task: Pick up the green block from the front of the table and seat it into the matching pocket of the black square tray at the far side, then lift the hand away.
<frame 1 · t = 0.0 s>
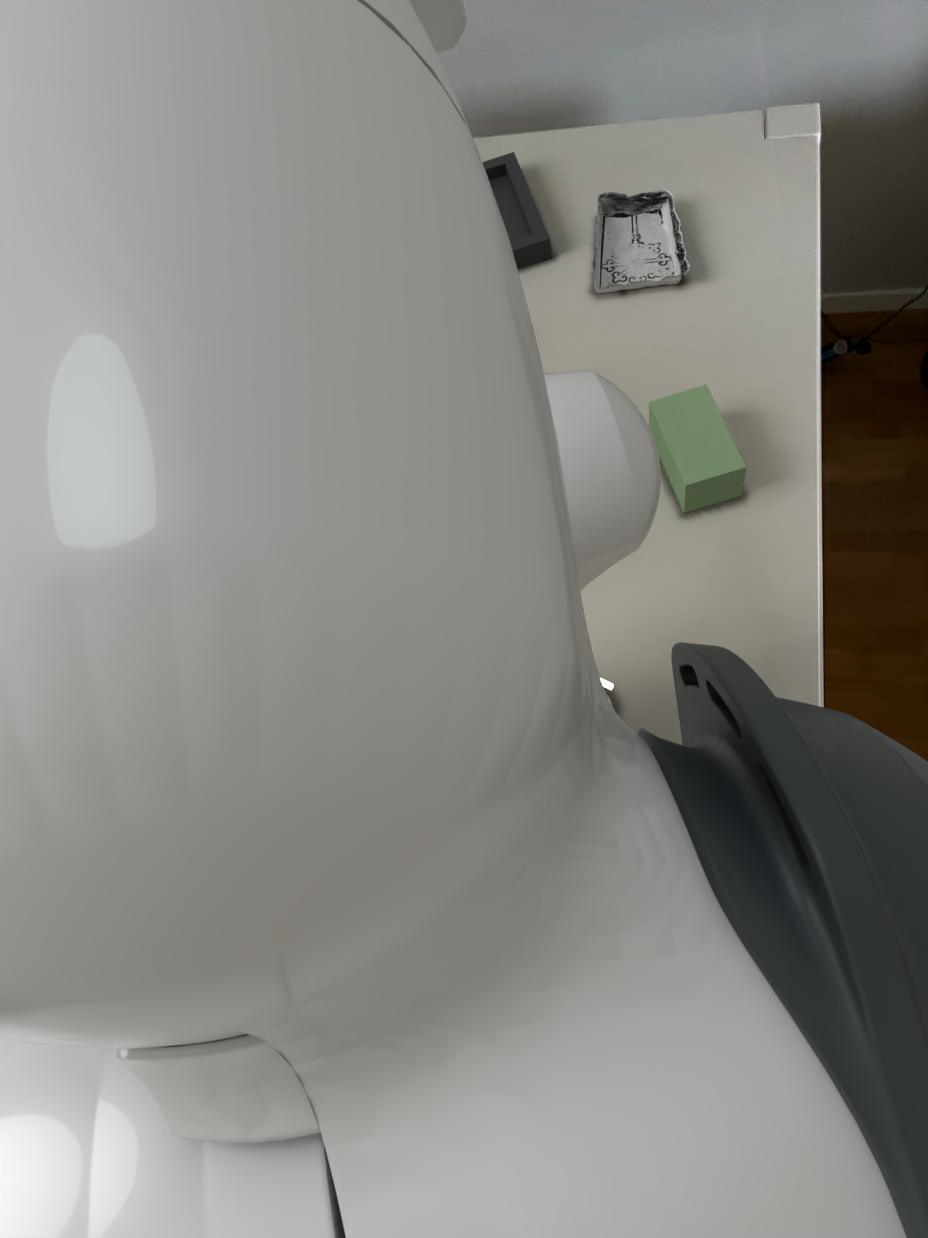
hand: (312, 157, 51), 39 cm above the table, tool pointing down, fingers open, 8 cm apart
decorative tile: (638, 252, 96), on the table
black square tray: (484, 229, 102), on the table
light bulb: (413, 393, 93), on the table
green block: (693, 463, 83), on the table
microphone: (366, 527, 87), on the table
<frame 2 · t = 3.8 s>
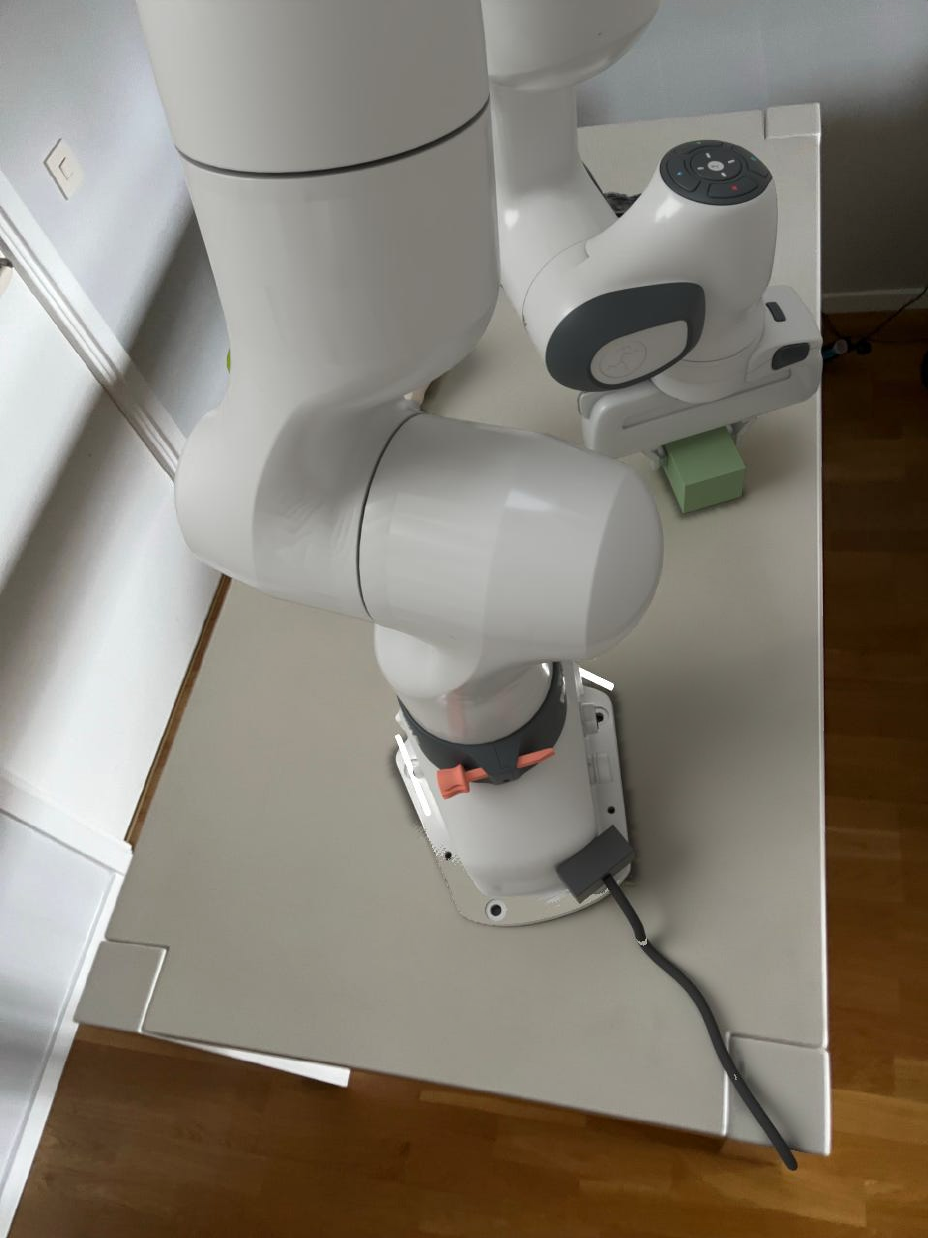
hand: (694, 451, 81), 2 cm above the table, tool pointing down, fingers closed on green block, 5 cm apart
green block: (693, 463, 83), on the table, touching gripper
everything else where it was.
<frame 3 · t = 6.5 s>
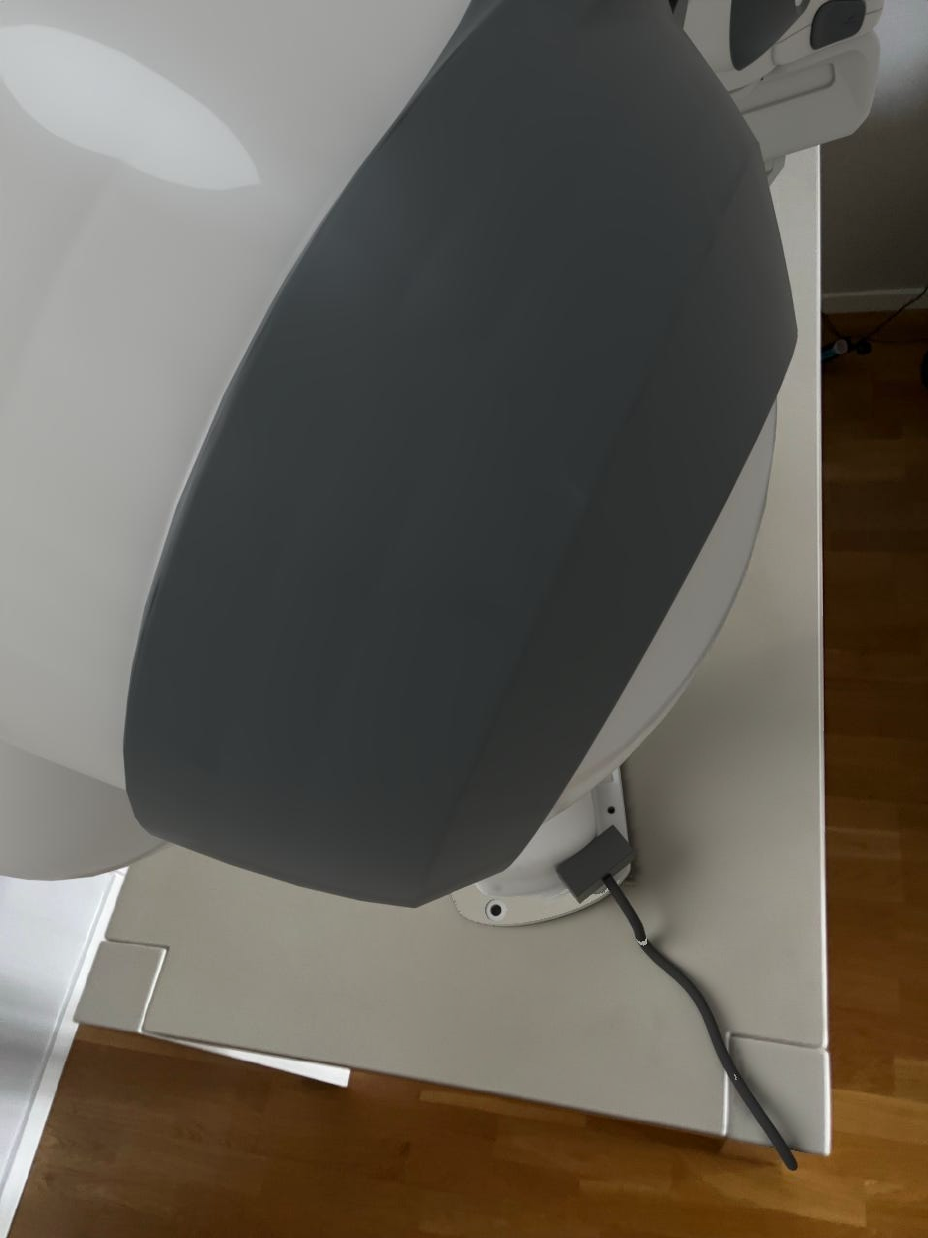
hand: (698, 225, 61), 26 cm above the table, tool pointing down, fingers closed on green block, 5 cm apart
green block: (697, 245, 62), point 24 cm above the table, touching gripper
everything else where it was.
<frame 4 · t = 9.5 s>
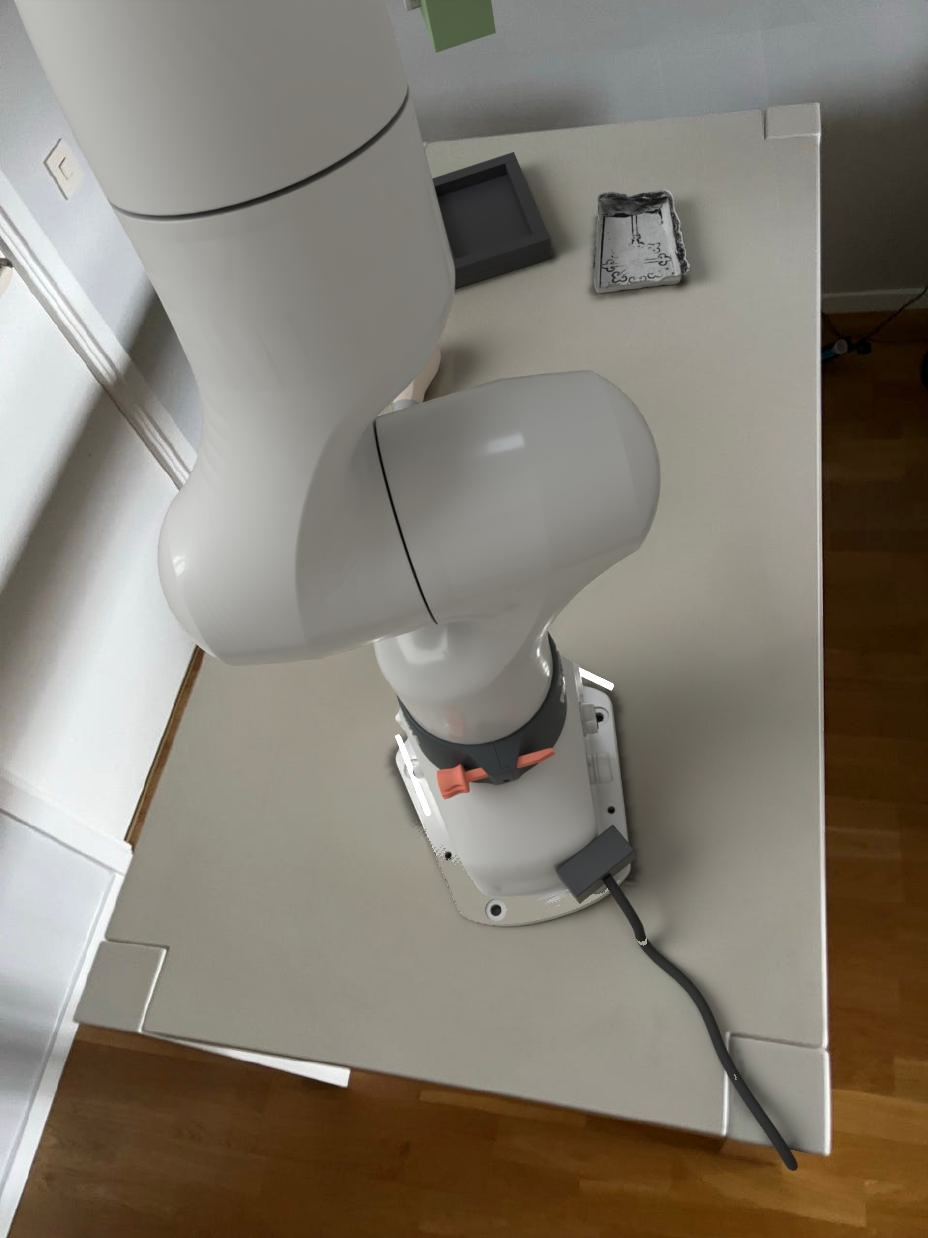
green block: (453, 12, 79), point 25 cm above the table, touching gripper
everything else where it was.
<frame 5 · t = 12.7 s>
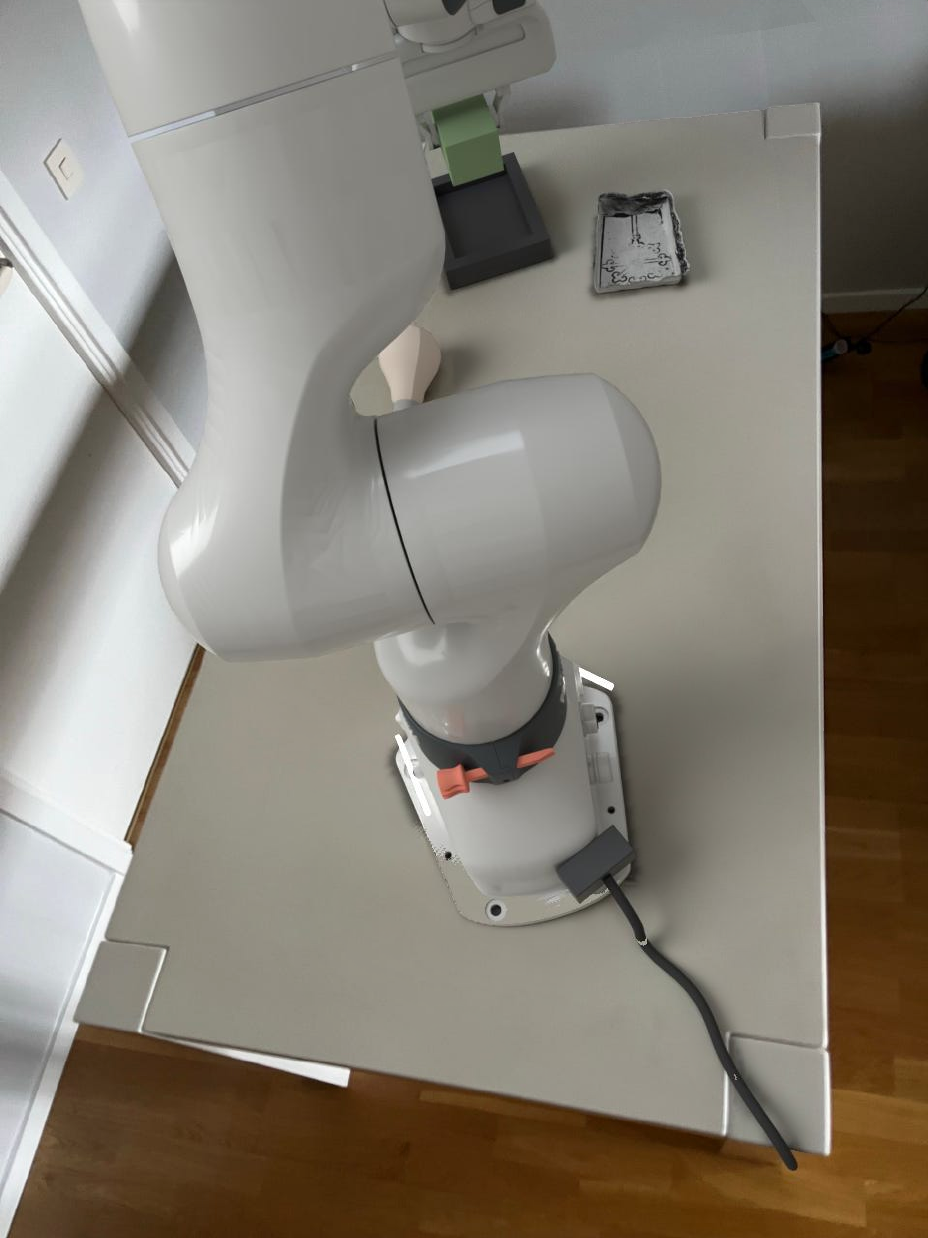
hand: (465, 135, 92), 12 cm above the table, tool pointing down, fingers closed on green block, 5 cm apart
green block: (468, 149, 93), point 10 cm above the table, touching gripper
everything else where it was.
when the fingers open (3 cm above the table, at t = 15.6 s): green block stays where it is, resting on black square tray.
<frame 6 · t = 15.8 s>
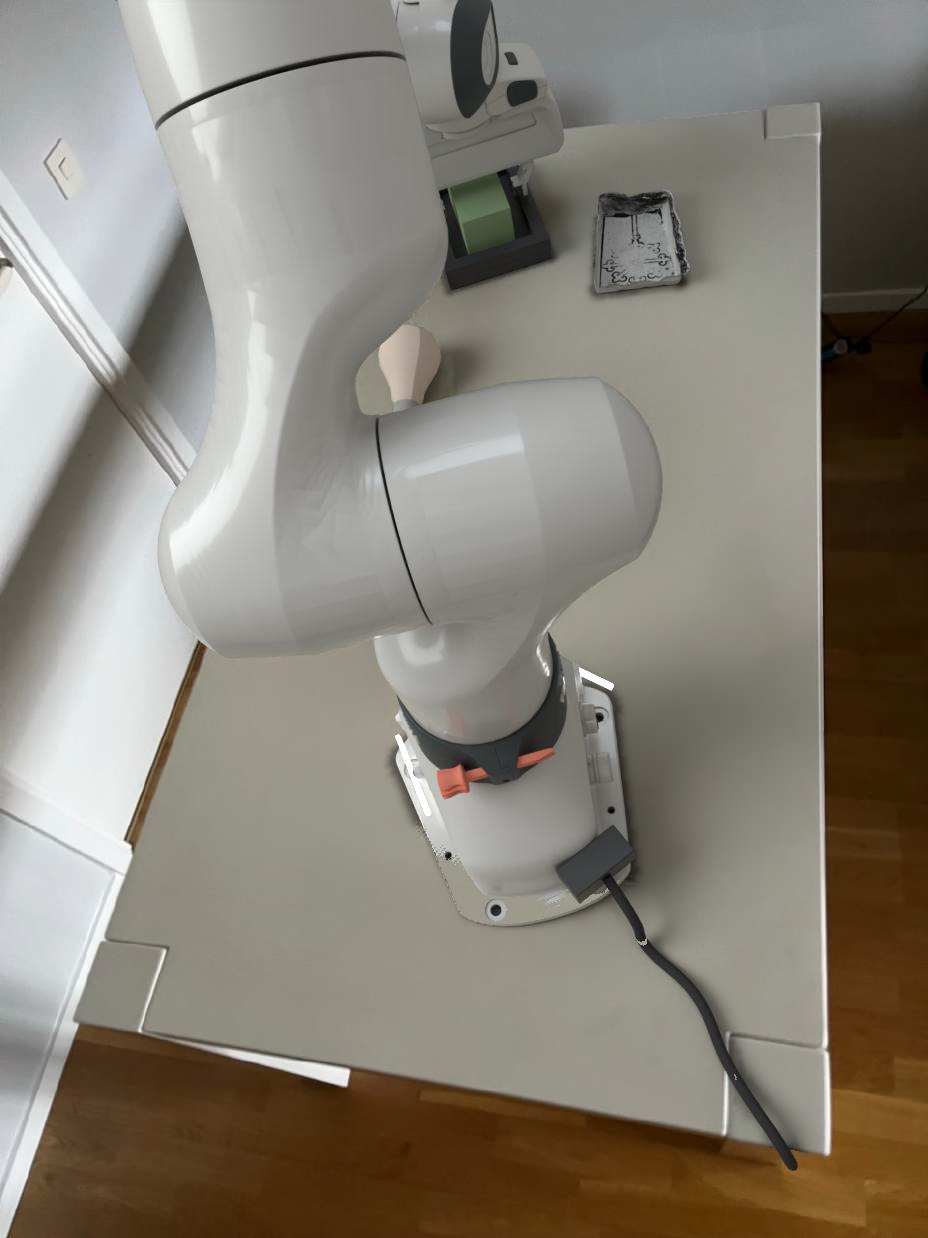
hand: (480, 206, 100), 3 cm above the table, tool pointing down, fingers open, 8 cm apart
green block: (482, 220, 101), point 1 cm above the table, touching black square tray
everything else where it was.
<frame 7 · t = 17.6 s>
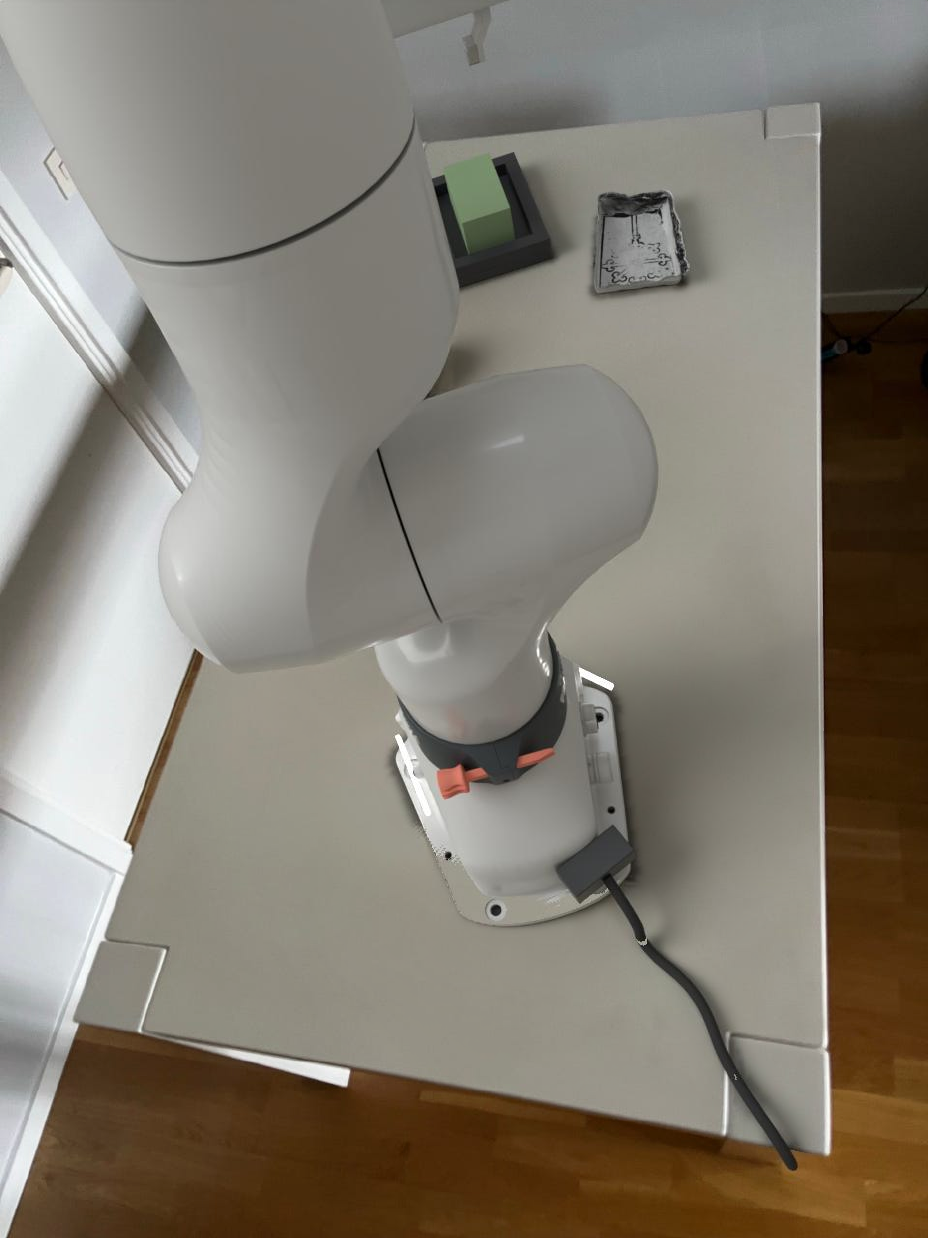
hand: (425, 77, 79), 23 cm above the table, tool pointing down, fingers open, 8 cm apart
nothing on the table moved.
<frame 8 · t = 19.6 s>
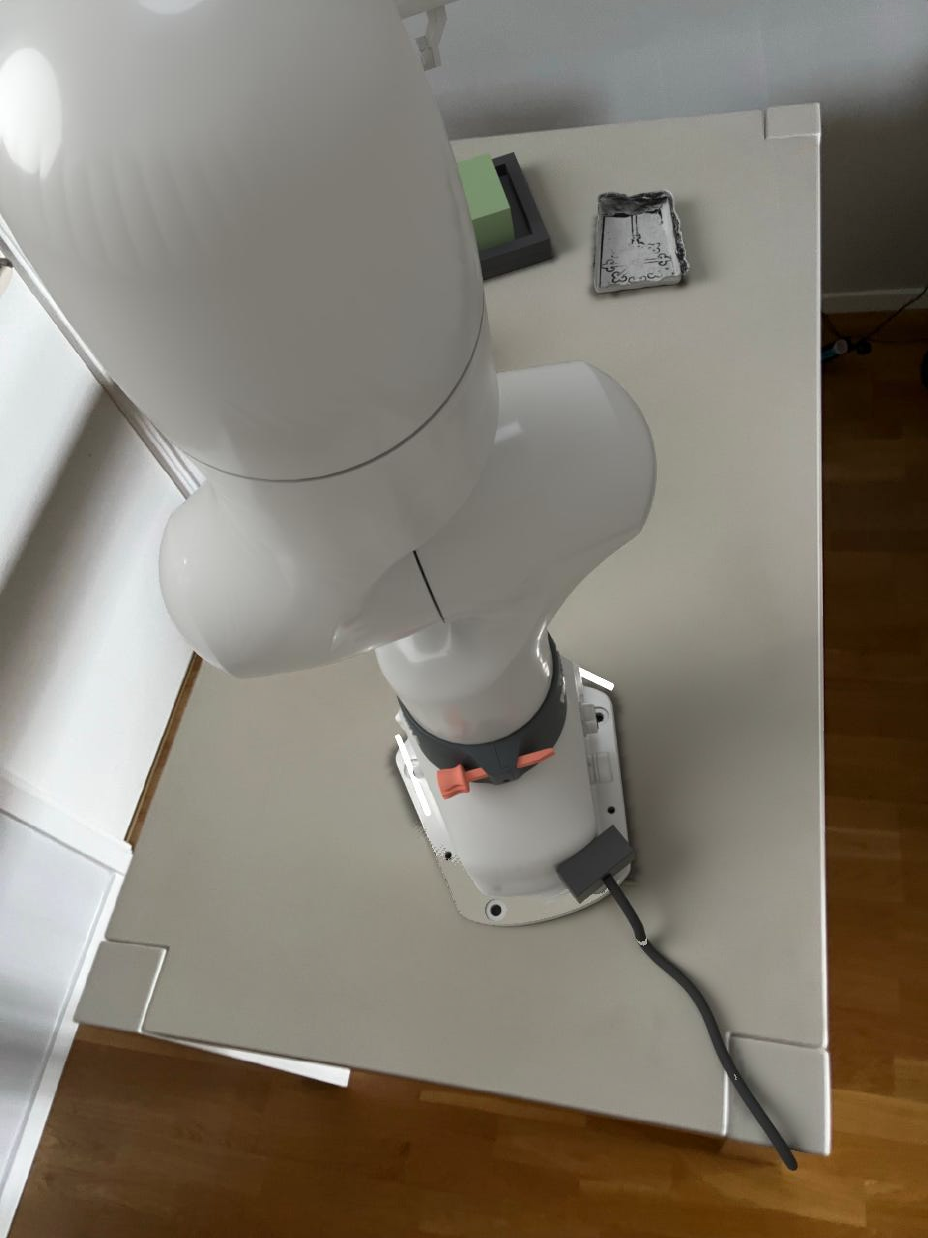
hand: (374, 83, 70), 29 cm above the table, tool pointing down, fingers open, 8 cm apart
nothing on the table moved.
at the end: green block 0.1 cm off-centre in the black square tray, point 1.2 cm above the black square tray's base; green block tilted 0°; the gripper is holding nothing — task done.
